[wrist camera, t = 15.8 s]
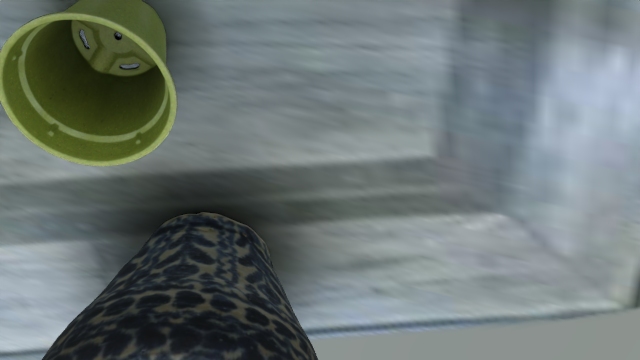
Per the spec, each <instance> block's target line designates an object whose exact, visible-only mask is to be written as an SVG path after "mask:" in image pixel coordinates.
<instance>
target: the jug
mask: <svg viewBox="0 0 640 360" xmlns="http://www.w3.org/2000/svg"><path fill="white" fill-rule="evenodd" d="M269 253H270V251H269V249H268V248H267V246H266V244H265V242H264V241H263V240H262V239H261V238H260V237H259V236H258V235H257V234H256V232H254V231H253V230H252V229H251V228H250V227H249V226H247V225H244V224H241V223H239V222H236V221H234V220H232V219H229V218H227V217H224V216H222V215H219V214H214V213H206V212H201V213H199V214H185V215H181V216H177V217H175V218H173V219H170V220H168V221H166V222H165V223H164V224H162V225H161V226H160V227H159V228H158V229H157V230H156V231H155V233H154V234H153V235H152V236H151V238H150V239H149V240H148V241H147V242H146V243H145V245H144V247H143V248H142V249H141V250H140V251H139V253H138V254H136V255H135V256H134V257H133V258H132V259H131V260H130V261H129V262H128V263H127V264H126V265H125V266H124V267H123V268H122V269H121V270H120V272H119V273H118V274H117V275H116V276H115V278H114V279H113V280H112V281H111V282H110V284H109V285H108V286H107V287H106V289H105V290H104V291H103V292H102V293H101V294H100V295H99V296H98V297H97V298H96V299H95V300H94V301H93V302H92V303H91V304H90V305H89V306H87V307H86V308H85V309H84V310H83V311H82V312H81V313H80V314H79V315H78V316H77V317H76V318H75V319H74V320H73V321H72V322H71V323H70V324H69V325H68V326H67V328H66V329H65V330H64V331H63V332H62V333H61V334H60V336H59V337H58V338H57V339H56V341H55V342H54V343H53V345H52V346H51V347H50V349H49V350H48V352H47V353H46V355H45V356H44V357H43V359H42V360H318V358H317V356H316V353H315V351H314V348H313V346H312V344H311V342H310V341H309V339H308V337H307V335H306V334H305V332H304V330H303V329H302V327H301V325H300V323H299V321H298V319H297V318H296V316H295V314H294V312H293V310H292V307H291V305H290V303H289V301H288V298H287V296H286V294H285V292H284V290H283V287H282V285H281V283H280V281H279V279H278V277H277V275H276V274H275V272H274V269H273V266H272V262H271V260H270V255H269Z"/></svg>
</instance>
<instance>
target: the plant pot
mask: <svg viewBox="0 0 640 360" xmlns="http://www.w3.org/2000/svg"><path fill="white" fill-rule="evenodd" d="M80 30H83V31H84V33H85V36H86V40H87V42H88V45H89V46H90V49H88V48H85V46H84V44H83V42H82V40H81V38H80V35H79V31H80ZM117 32H118V33H120V34H121V36H122V39H121V40H117V39H115V36H114V34H115V33H117ZM134 63H139V64H140V66H139V67H138V68H136V69H129V70H126V69H122V68H120V65H130V64H134ZM0 101H1V103H2V105H3V107H4V109H5V111H6V113H7V115H8V116H9V118H10V119H11V121H12V122H13V123H14V124H15V126H16V127H17V128H18V129H19V130H20V131H21V133H22V134H23V135H24V136H26V137H27V138H28V139H29V140H30V141H31V142H33V143H34V144H36V145H37V146H39V147H40V148H42V149H44V150H45V151H47V152H49V153H50V154H52V155H55V156H57V157H59V158H62V159H64V160H67V161H70V162H74V163H79V164H83V165H90V166H112V165H120V164H125V163H129V162H132V161H135V160H137V159H140V158H142V157H144V156H145V155H147V154H149V153H150V152H152V151H153V150H154V149H156V148H157V147H158V146H159V145H160V144H161V143H162V142H163V140H164V139H165V138H166V137H167V136H168V134H169V132H170V130H171V128H172V126H173V124H174V121H175V117H176V111H177V94H176V88H175V84H174V81H173V78H172V76H171V73H170V71H169V69H168V68H167V66H166V33H165V29H164V26H163V24H162V21H161V19H160V18H159V16H158V14H157V13H156V12H155V10H154V9H153V8H152V7H151V6H149V5H148V4H146V3H145V2H143V1H142V0H79V1H78V2H77V3H75V4H74V5H73V6H71V7H70V8H68V9H67V10H65V11H64V12H57V13H52V14H48V15H44V16H41V17H38V18H36V19H34V20H32V21H30V22H28V23H26V24H24V25H23V26H22V27H20V28H19V29H18V30H17V31H16V32H14V33H13V34H12V35H11V36H10V37H9V39H8V40H7V41H6V43H5V44H4V46H3V47H2V49H1V51H0Z"/></svg>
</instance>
